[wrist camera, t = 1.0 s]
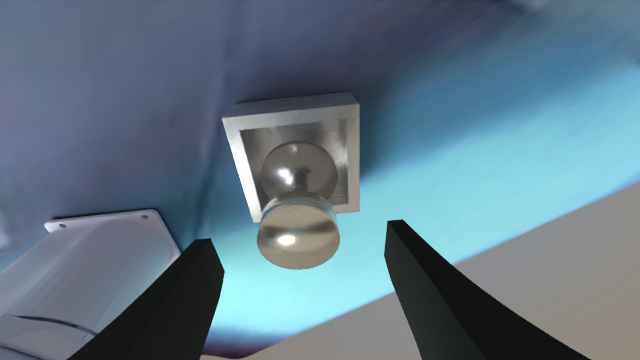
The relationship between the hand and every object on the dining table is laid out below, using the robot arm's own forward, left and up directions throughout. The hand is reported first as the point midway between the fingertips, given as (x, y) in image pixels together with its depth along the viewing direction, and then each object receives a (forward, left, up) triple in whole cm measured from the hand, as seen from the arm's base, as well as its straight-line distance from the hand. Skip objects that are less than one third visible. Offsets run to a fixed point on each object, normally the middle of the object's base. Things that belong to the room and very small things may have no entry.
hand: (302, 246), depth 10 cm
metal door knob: (0, 0, -7) cm, 7 cm away
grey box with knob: (0, -1, -10) cm, 10 cm away
